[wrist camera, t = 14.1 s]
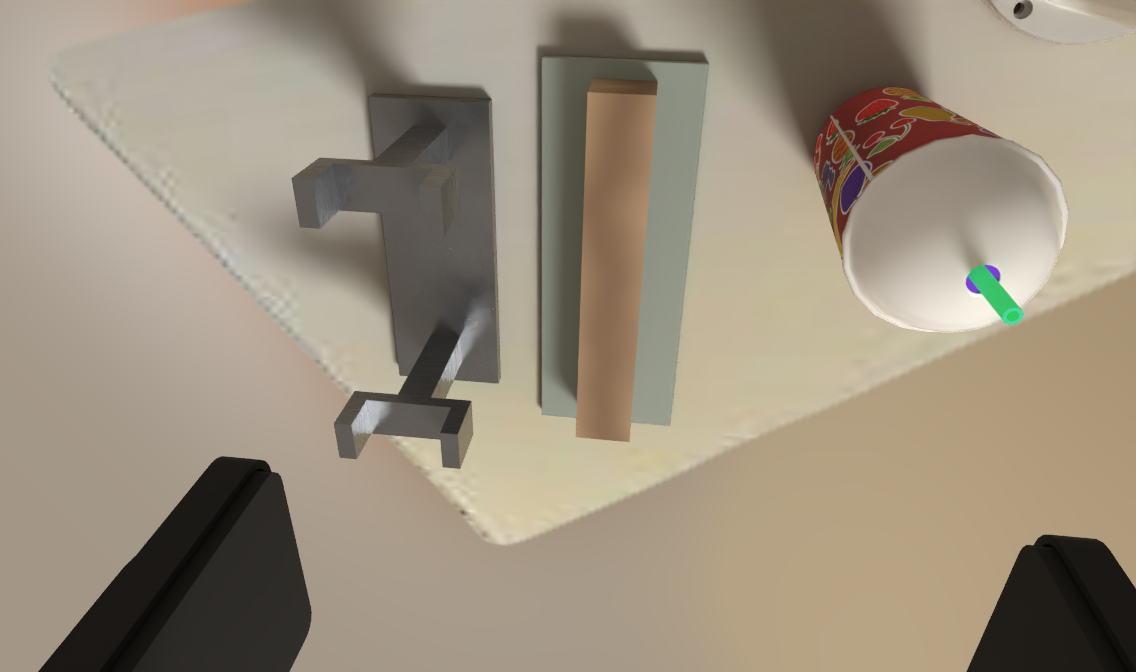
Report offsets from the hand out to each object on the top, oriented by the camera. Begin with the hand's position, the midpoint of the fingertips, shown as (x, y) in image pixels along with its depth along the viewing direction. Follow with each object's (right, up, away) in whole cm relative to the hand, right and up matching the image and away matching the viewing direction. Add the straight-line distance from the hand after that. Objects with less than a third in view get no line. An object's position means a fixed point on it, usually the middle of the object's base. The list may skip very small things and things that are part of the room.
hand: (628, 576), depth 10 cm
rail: (+2, +8, +37) cm, 38 cm away
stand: (-9, +9, +38) cm, 40 cm away
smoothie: (+16, +14, +32) cm, 39 cm away
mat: (+2, +8, +37) cm, 38 cm away
